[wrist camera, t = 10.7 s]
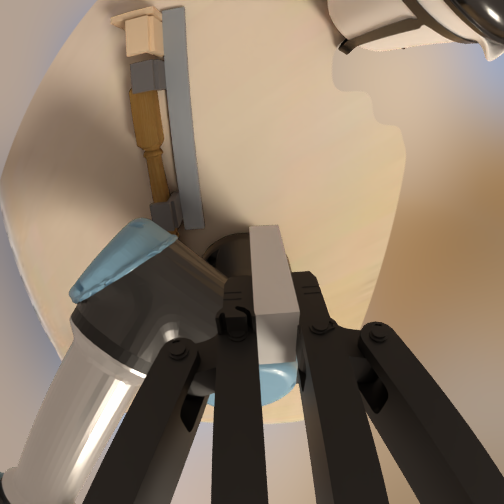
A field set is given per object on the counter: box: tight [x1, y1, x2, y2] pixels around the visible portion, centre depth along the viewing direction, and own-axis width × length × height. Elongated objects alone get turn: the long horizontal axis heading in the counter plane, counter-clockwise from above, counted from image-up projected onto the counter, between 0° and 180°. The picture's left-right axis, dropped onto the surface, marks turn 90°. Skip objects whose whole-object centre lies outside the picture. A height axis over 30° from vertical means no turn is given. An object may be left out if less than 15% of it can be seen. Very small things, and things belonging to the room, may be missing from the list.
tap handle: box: [129, 61, 180, 239], centre depth 37 cm, size 3×3×30 cm
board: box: [111, 6, 205, 231], centre depth 33 cm, size 33×9×6 cm, turn 3°
